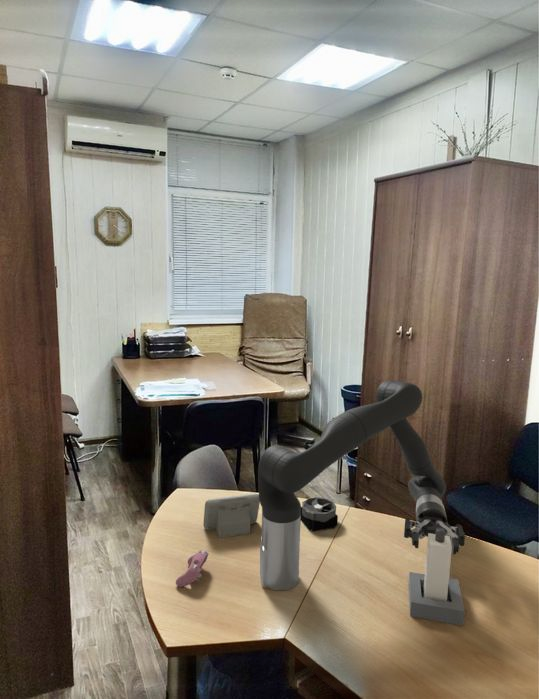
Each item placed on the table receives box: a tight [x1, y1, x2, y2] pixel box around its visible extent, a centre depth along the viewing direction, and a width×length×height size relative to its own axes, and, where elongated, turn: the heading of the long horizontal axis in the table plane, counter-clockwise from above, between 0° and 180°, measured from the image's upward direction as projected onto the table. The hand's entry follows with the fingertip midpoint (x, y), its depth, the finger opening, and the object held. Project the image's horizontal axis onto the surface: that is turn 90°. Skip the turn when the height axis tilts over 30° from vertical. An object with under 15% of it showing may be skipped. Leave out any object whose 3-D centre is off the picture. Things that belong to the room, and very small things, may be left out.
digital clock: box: [202, 492, 261, 539], centre depth 141 cm, size 16×9×11 cm, turn 95°
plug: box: [422, 528, 452, 601], centre depth 111 cm, size 5×5×18 cm
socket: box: [407, 571, 465, 627], centre depth 112 cm, size 11×11×4 cm
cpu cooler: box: [300, 496, 339, 532], centre depth 147 cm, size 10×6×10 cm
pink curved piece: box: [175, 549, 210, 588], centre depth 120 cm, size 10×5×7 cm, turn 170°
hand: (435, 547), depth 116 cm, fingers open, 8 cm apart
